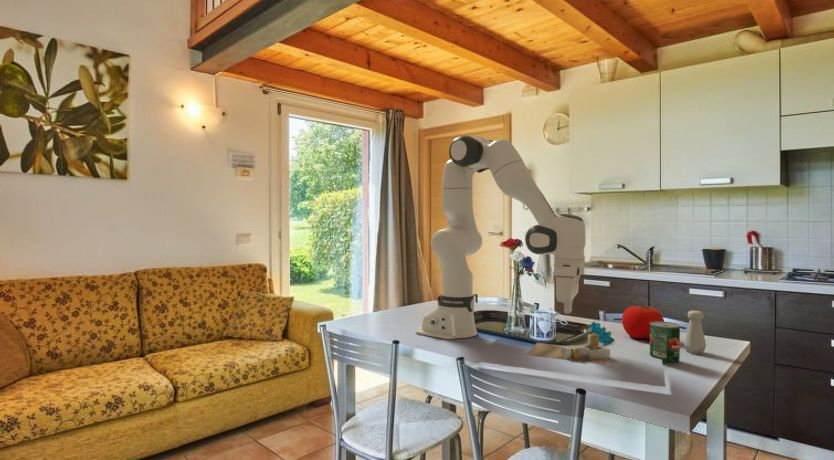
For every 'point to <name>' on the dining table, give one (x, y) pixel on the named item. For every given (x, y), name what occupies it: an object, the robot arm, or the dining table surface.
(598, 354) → the tan pipe fitting
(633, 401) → the dining table surface
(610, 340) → the gear
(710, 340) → the dining table surface
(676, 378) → the dining table surface
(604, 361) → the post board
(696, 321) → the salt shaker
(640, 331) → the tomato
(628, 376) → the dining table surface
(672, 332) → the canned tomato
